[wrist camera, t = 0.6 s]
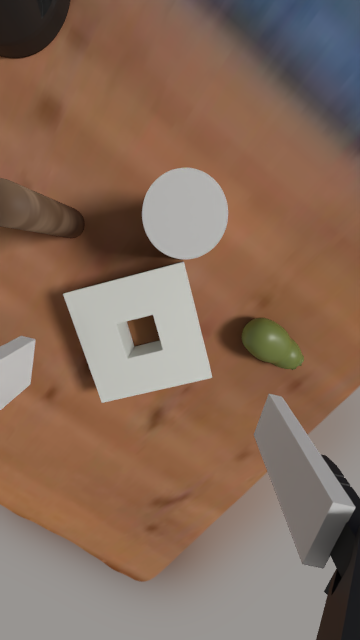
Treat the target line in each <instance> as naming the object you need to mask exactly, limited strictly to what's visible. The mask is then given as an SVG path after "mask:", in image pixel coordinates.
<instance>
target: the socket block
mask: <svg viewBox="0 0 360 640" xmlns="http://www.w3.org/2000/svg"><path fill="white" fill-rule="evenodd" d="M63 295H64V298H65V301H66V304H67V307H68V309H69V312H70V315H71V318H72V321H73V323H74V326H75V329H76V332H77V335H78V337H79V340H80V343H81V346H82V348H83V351H84V354H85V357H86V360H87V362H88V365H89V368H90V371H91V374H92V376H93V379H94V382H95V385H96V388H97V390H98V393H99V396H100V399H101V401H102V403H103V402H108V401H112V400H116V399H121V398H125V397H130V396H134V395H138V394H143V393H147V392H152V391H156V390H160V389H165V388H169V387H174V386H178V385H183V384H187V383H191V382H196V381H200V380H205V379H209V378H212V374H211V370H210V365H209V361H208V357H207V353H206V349H205V345H204V341H203V337H202V333H201V329H200V325H199V321H198V317H197V313H196V309H195V305H194V301H193V297H192V293H191V289H190V285H189V281H188V276H187V272H186V268H185V264H184V262H180V263H176V264H172V265H168V266H165V267H161V268H157V269H153V270H149V271H146V272H142V273H138V274H134V275H131V276H127V277H123V278H119V279H115V280H112V281H108V282H104V283H100V284H96V285H93V286H89V287H85V288H81V289H78V290H74V291H71V292H67V293H64V294H63ZM150 315H153V317H154V320H155V324H156V327H157V331H158V334H159V338H160V340H159V341H155V342H151V343H147V344H143V345H139V346H135V347H134V343H133V340H132V337H131V334H130V331H129V327H128V324H127V321H130V320H134V319H138V318H142V317H146V316H150Z"/></svg>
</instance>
